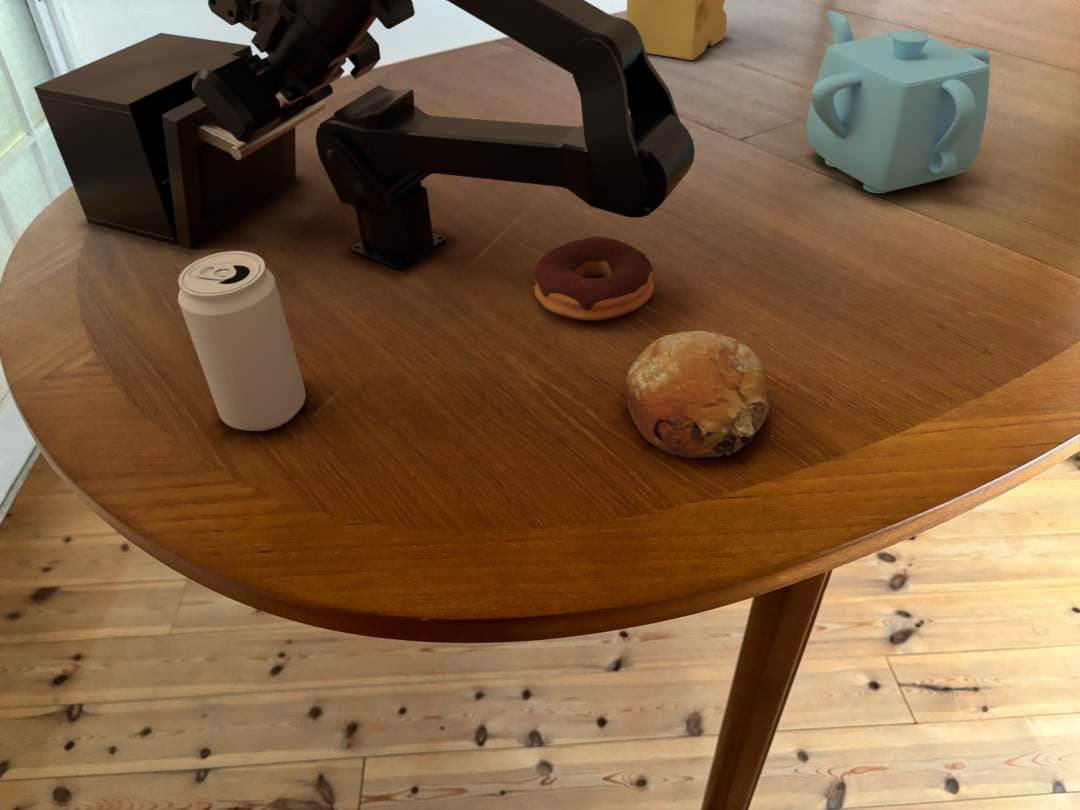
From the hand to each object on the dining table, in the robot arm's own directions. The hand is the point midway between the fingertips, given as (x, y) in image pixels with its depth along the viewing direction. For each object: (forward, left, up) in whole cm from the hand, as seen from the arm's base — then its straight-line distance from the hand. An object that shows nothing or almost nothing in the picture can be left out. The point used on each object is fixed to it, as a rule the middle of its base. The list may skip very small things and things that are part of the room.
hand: (255, 123), depth 85 cm
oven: (+12, +2, -10) cm, 16 cm away
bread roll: (-49, +4, -10) cm, 50 cm away
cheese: (-8, -63, -10) cm, 65 cm away
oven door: (+3, +1, -11) cm, 11 cm away
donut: (-34, -5, -10) cm, 36 cm away
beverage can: (-22, +21, -10) cm, 32 cm away
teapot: (-44, -42, -10) cm, 62 cm away
